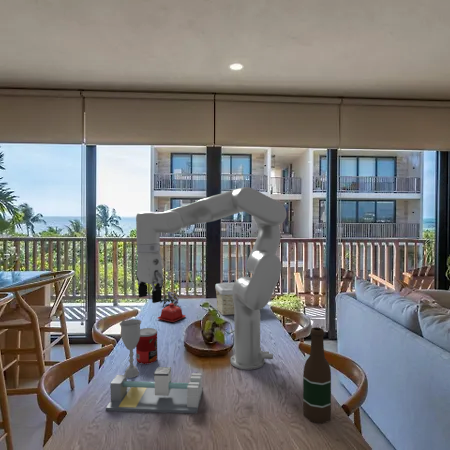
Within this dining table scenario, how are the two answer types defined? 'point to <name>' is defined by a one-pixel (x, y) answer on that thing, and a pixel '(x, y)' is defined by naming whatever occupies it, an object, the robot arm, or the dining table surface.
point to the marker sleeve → (162, 381)
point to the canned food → (147, 346)
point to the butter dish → (171, 313)
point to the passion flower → (170, 298)
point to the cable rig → (155, 396)
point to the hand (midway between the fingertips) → (149, 299)
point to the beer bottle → (317, 381)
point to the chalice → (130, 342)
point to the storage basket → (225, 298)
